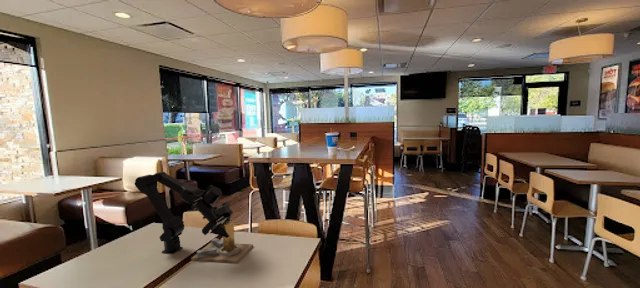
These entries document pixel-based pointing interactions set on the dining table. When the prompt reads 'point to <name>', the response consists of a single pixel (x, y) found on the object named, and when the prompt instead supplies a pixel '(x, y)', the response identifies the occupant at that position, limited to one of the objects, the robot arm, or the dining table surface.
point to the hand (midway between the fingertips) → (231, 234)
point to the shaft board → (221, 252)
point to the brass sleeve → (230, 241)
